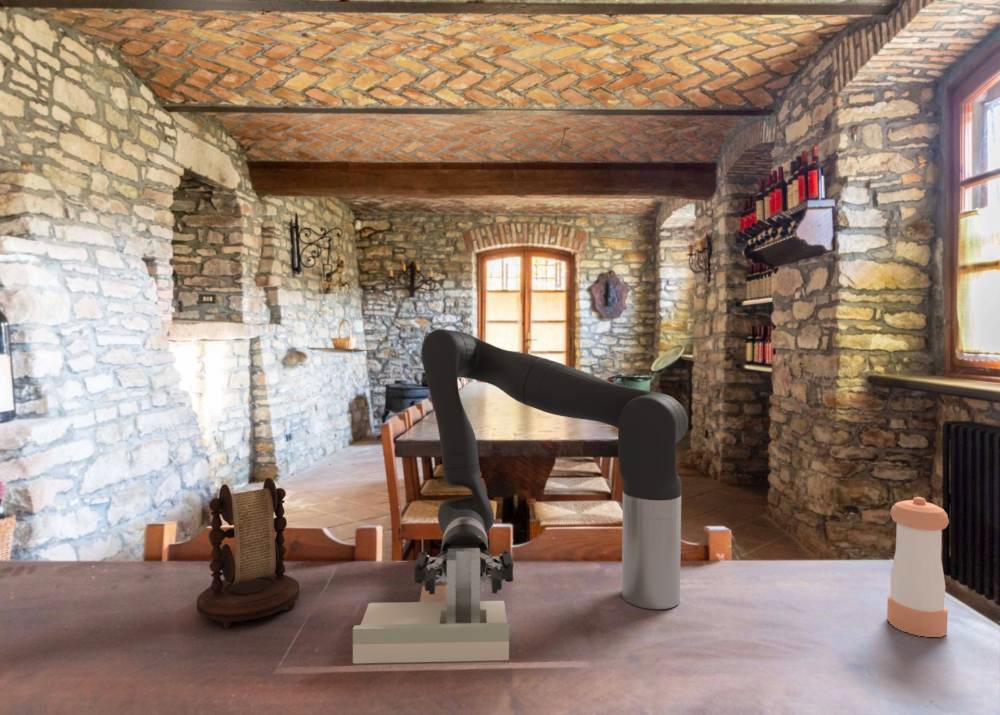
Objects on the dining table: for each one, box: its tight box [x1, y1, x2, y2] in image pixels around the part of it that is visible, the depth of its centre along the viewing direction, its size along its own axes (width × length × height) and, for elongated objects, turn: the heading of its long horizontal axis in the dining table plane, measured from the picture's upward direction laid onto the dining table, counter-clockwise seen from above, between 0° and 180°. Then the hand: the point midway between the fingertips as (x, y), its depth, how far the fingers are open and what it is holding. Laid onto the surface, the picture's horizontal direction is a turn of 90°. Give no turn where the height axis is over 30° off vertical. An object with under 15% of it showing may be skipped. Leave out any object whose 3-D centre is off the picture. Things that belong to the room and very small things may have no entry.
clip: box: [446, 548, 481, 624], centre depth 82 cm, size 4×4×12 cm
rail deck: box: [352, 600, 510, 669], centre depth 82 cm, size 12×20×5 cm, turn 93°
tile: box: [419, 585, 447, 602], centre depth 96 cm, size 8×8×1 cm
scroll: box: [196, 477, 301, 630], centre depth 92 cm, size 15×15×20 cm
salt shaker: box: [886, 496, 950, 638], centre depth 87 cm, size 7×7×19 cm
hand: (463, 587), depth 81 cm, fingers open, 8 cm apart
